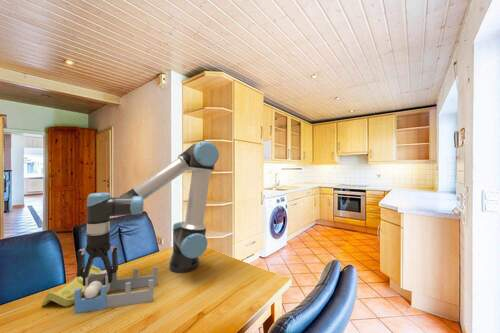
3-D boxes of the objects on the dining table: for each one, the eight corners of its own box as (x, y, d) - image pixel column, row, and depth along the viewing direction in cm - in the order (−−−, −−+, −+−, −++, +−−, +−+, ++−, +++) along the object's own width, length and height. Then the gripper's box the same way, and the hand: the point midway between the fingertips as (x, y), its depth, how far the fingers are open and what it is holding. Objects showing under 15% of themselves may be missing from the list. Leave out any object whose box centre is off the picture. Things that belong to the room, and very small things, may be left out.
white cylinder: (98, 280, 92) (99, 268, 92) (112, 278, 94) (112, 267, 94) (80, 302, 77) (81, 288, 77) (96, 300, 78) (97, 286, 78)
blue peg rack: (157, 284, 97) (157, 266, 97) (152, 301, 84) (152, 281, 84) (90, 292, 90) (91, 273, 90) (74, 313, 77) (74, 290, 77)
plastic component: (71, 301, 80) (46, 290, 80) (63, 319, 81) (38, 307, 81) (107, 272, 100) (87, 262, 100) (100, 286, 101) (80, 276, 100)
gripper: (128, 228, 92) (127, 283, 91) (74, 231, 87) (74, 290, 86) (122, 233, 84) (122, 293, 84) (64, 237, 79) (63, 301, 79)
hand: (97, 291), depth 85 cm, fingers open, 6 cm apart
